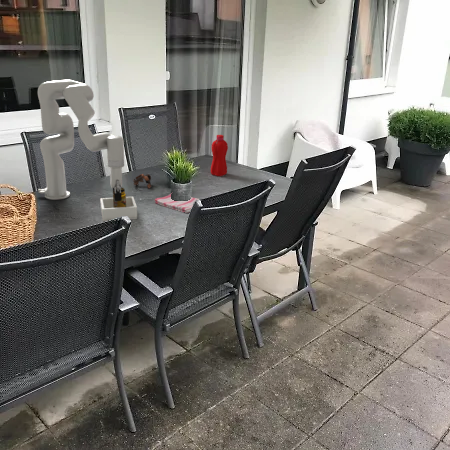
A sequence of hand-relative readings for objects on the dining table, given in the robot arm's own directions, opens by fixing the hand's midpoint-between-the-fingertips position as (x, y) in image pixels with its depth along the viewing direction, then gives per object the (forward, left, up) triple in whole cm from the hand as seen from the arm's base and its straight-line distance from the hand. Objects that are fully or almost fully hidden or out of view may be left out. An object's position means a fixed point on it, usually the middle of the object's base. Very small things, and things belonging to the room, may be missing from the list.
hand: (117, 197), depth 226 cm
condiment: (0, 0, -8) cm, 8 cm away
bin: (0, 0, -9) cm, 9 cm away
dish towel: (+33, +8, -10) cm, 35 cm away
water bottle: (+66, +55, -9) cm, 86 cm away
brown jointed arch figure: (+18, +40, -9) cm, 45 cm away
